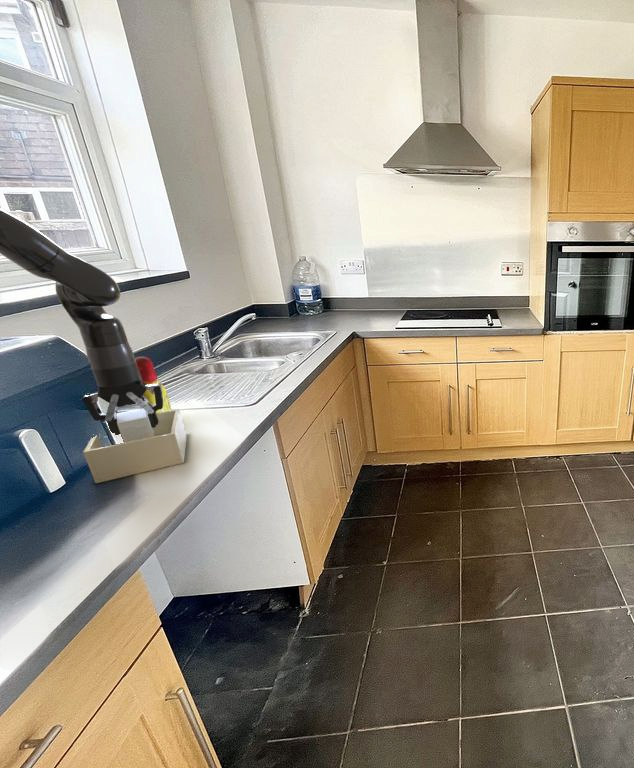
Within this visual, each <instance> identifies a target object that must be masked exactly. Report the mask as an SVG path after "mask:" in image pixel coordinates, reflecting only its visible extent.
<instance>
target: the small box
mask: <svg viewBox="0 0 634 768" xmlns="http://www.w3.org/2000/svg"><path fill="white" fill-rule="evenodd" d="M147 414H148V413H147V411H145V410H144V409H143V408H138V409H131V410H126V411H122V412H121V411H120V412H116V413H115V416H116V417H115V418H116V419H117V426H118V429H119V431H120V434H121V437H122V439H123V442H124V443H125V442H130V441H135V440H140V439H145V438H149V437H154V436H155V435H154V432H153V429H152V427H151V424H150V421H149V418H148V415H147Z"/></svg>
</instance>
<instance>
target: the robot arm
mask: <svg viewBox="0 0 634 768" xmlns="http://www.w3.org/2000/svg"><path fill="white" fill-rule="evenodd" d="M0 255H2V256H3V257H5V258H6V259H7V260H9V261H11V262H12V263H14V264H15V265H17V266H18V267H20V268H22V269H23V270H24V271H26V272H28V273H30V274H32V275H34V276H36V277H38V278H41V279H47V280H50V281H54V282H55V294H56V296H57V299H58V301H59V302H60V305H62V307H63V308H64V310H65V311H66V313H67V315H68V316H69V318H70V319H71V320H72V321H73V323H74V324H75V325H76V326H77V328H78V330H79V333H80V336H81V339H82V341H83V344H84V347H85V352H86V357H87V360H88V364H89V367H90V369H91V372H92V374H93V377H94V380H95V382H96V385H97V387H98V391H97V392H94V393H89V394H90V395H86V394H85V395H83V396H82V398H81V401H82V402H83V405H84V406H85V407H86V409H87V411H88V413H89V414H90V416H91V417H92V419H93V420H94V421H96V422H97V421H105V422H107V423H108V426H109V429H110V431H111V432H112V433H115V435H119V434H120V431H119V429H118V426H117V419H116V417H115V415H116V411H117V407H118V408H121V407H122V408H123V407H125V406H133V405H137V406H139V408H140V407H141V408H143V409H144V410H145V411H147V412H148V414H147V415H148V418H149V421H150V424H151V427H152V428H155V427H156V425H158V422H159V420H158V417H157V414H156V411H157V410H159V409H162V408H163V404H164V403H163V394H162V386H161V384H162V383H161V382H160V383H161V384H160V383H156V384H155V385H146V384H145V383H144V382H143V381H142V379H141V376H140V373H139V370H138V366H137V363H136V360H135V358H136V357H135V354H134V351H133V349H132V347H131V345H130V342H129V340H128V337H127V334H126V332H125V328H124V325H123V323H122V321H121V320H120V319H119V318H118V317H116V316H113V315H110V314H109V313H107V312H106V310H105V309H104V307H109V306H112V305H114V304H116V303H117V302H118V301H119V300H120V297H121V289H120V286H119V285H118V283H117V282H116V281H115V279H114V278H112V276H110V275H109V274H108V273H106V272H105V271H103V270H101V269H100V268H98V267H96V266H95V265H92V264H91V263H89V262H87V261H85V260H83V259H81V258H80V257H77V256H75V255H74V254H71V253H69V252H68V251H66V250H65V249H64V248H62V247H61V246H59V245H58V244H57V243H55V241H53V240H52V239H51V238H49V237H47V236H46V235H44V234H43V233H42V232H40V231H39V230H38V229H37V228H35V227H33V226H32V225H30V224H29V223H27V222H26V221H24V220H22V219H20V218H19V217H17V216H15V215H13V214H11V213H9V212H7V211H5V210H4V209H1V208H0ZM146 390H149V391H150V392H151V393H152V394H155V401H156V404H155V405H152V404H151V403H150V402H149V401H148V400H147V399H146V398H145V397H144V396H143V395H144V393H145V391H146ZM99 398H100V399H102V400H103V401H105V402H106V403H108V405H107V406H108V407H107V410H106V412H103V411H102V410H101V408H100V407H99V405H98V404H97V403H98V402H99ZM141 398H142V399H141ZM141 408H140V409H141Z"/></svg>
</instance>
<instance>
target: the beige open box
mask: <svg viewBox="0 0 634 768" xmlns="http://www.w3.org/2000/svg"><path fill="white" fill-rule="evenodd" d="M156 414H157V417H158V420H159V422H158V425H156V427H155V428H152V429H153V432H154V435H155V436H154V437H149V438H145V439H140V440H135V441H130V442H125V443H120V444H115V445H110V446H105V447H102V445H101V443H100V440H99V438H98V436H97V435H96V436H95V437H93V438H92V437H91V438H90V440H89V441H88V443H87V445H86V447H85V448H84V450H83V451H82V452H83V456H84V458H85V461H86V463H87V466H88V468H89V471H90V473H91V475H92V478H93V481H94V483H95V484H99V483H104V482H108V481H113V480H116V479H120V478H125V477H129V476H133V475H137V474H142V473H145V472H150V471H154V470H159V469H162V468H166V467H171V466H175V465H179V464H183V463H184V462H185V455H186V448H187V447H186V445H187V439H188V438H187V437H188V434H187V431H186V427H185V423H184V421H183V417H182V414H181V410H180V408H177V409H171V411H166V412H160V413H156Z"/></svg>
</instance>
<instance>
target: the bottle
mask: <svg viewBox="0 0 634 768" xmlns="http://www.w3.org/2000/svg"><path fill="white" fill-rule="evenodd" d="M135 360H136V363H137V366H138V370H139V373H140V376H141V379H142V381H143V382H144V383H145V384H146V385H155V384H156V383H160V384H161V386H162V394H163V403H164V404H163V408H162V409H159V410H157V411H156V413H160V412H166V411H171V410H172V407H171V406H172V405H171V403H170V399H169V395H168V392H167V389H166V387H165V386H164V385H163V384H162V383H161V382H160V381H159V378H158V376H157V372H156V371H155V370H156V369H155V367H154V364H153V362H152V360H151V359H150V358H148V357H147V356H137V357H135ZM143 396H144V397H145V398H146V399H147V400H148V401H149V402H150V403H151V404H152V405H155V404H156V401H155V394H152V393H151V392H150V391H149V390H146V391H145V393H144V395H143ZM141 399H142V398H141ZM139 409H141V407H140V406H139ZM147 413H148V412H147Z"/></svg>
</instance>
